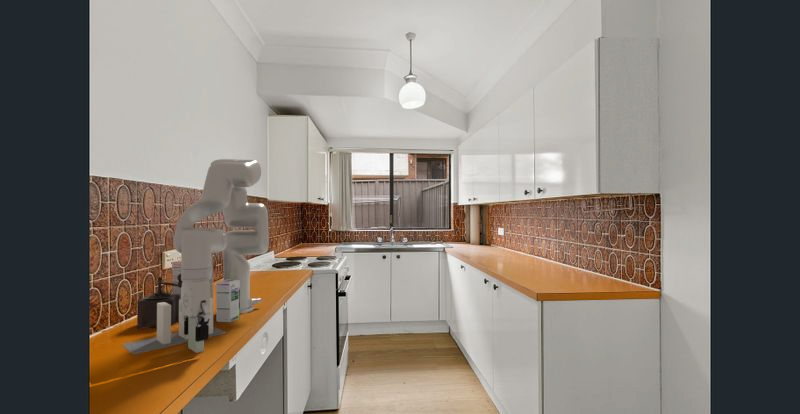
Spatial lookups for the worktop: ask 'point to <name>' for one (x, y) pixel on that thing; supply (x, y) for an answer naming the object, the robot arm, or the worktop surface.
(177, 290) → the cracker box
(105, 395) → the worktop surface
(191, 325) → the domino
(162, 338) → the domino
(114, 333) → the worktop surface
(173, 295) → the dark block with crank
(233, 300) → the syrup box
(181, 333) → the domino
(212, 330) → the domino
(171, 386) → the worktop surface
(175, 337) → the mat
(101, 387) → the worktop surface
